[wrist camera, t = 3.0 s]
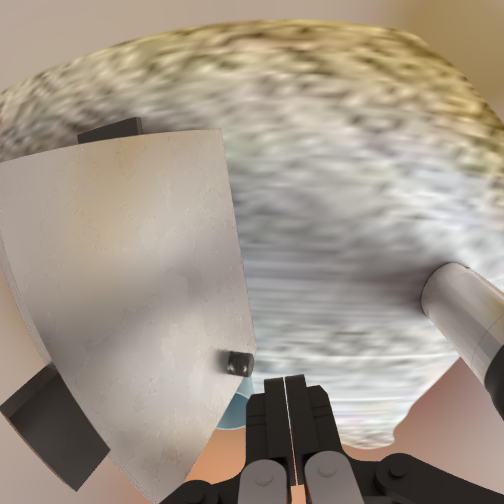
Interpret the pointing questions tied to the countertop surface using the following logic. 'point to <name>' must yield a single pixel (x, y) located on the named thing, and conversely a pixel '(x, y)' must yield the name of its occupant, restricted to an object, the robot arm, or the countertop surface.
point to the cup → (237, 407)
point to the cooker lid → (126, 303)
